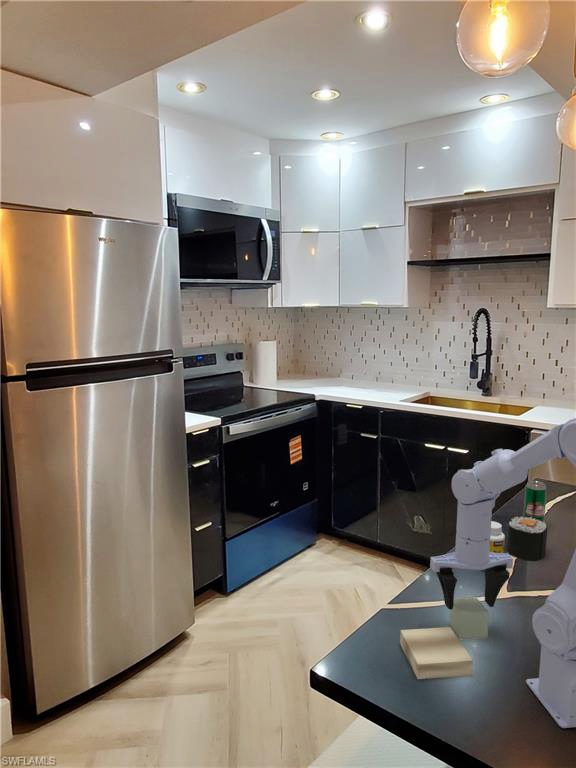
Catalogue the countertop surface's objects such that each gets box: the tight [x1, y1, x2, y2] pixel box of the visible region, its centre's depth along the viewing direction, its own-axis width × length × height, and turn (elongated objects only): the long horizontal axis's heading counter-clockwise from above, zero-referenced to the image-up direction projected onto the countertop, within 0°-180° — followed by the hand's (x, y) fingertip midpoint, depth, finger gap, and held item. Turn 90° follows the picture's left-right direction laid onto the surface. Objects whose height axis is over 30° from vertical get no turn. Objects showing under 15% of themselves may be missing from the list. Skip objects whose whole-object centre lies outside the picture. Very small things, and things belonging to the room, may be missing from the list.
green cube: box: [448, 596, 490, 641], centre depth 97 cm, size 5×5×5 cm
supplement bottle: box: [482, 520, 506, 572], centre depth 120 cm, size 6×6×10 cm
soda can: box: [522, 480, 547, 523], centre depth 142 cm, size 5×5×12 cm
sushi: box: [507, 516, 548, 562], centre depth 127 cm, size 8×8×8 cm
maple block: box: [399, 626, 474, 680], centre depth 90 cm, size 9×9×3 cm
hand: (469, 605), depth 97 cm, fingers open, 7 cm apart
